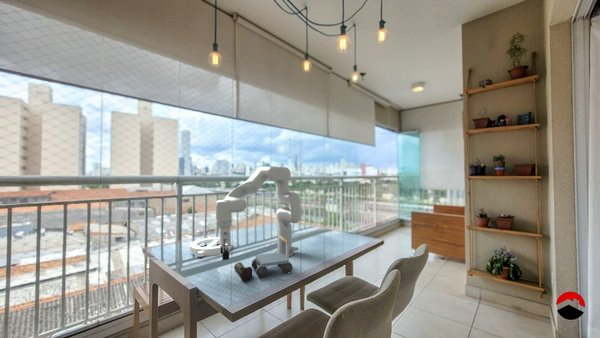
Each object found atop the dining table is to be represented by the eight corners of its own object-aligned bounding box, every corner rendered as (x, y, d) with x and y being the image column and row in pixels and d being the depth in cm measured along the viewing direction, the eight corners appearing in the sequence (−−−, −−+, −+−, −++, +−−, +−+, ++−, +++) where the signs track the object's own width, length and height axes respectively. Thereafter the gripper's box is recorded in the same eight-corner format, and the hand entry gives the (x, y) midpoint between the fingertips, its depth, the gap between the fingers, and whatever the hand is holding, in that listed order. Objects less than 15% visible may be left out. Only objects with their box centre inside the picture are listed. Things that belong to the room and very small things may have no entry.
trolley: (284, 263, 145) (284, 234, 145) (292, 273, 132) (293, 240, 132) (251, 268, 137) (251, 237, 137) (256, 279, 124) (257, 245, 124)
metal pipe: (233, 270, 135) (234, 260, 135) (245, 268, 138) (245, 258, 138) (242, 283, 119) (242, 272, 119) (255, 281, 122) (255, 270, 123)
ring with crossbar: (221, 241, 190) (221, 235, 190) (238, 250, 170) (238, 243, 170) (184, 248, 171) (184, 242, 171) (198, 259, 151) (198, 252, 151)
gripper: (234, 226, 118) (234, 261, 118) (229, 219, 134) (230, 249, 134) (218, 228, 115) (218, 263, 115) (215, 220, 131) (215, 251, 131)
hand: (224, 256), depth 125 cm, fingers open, 9 cm apart
